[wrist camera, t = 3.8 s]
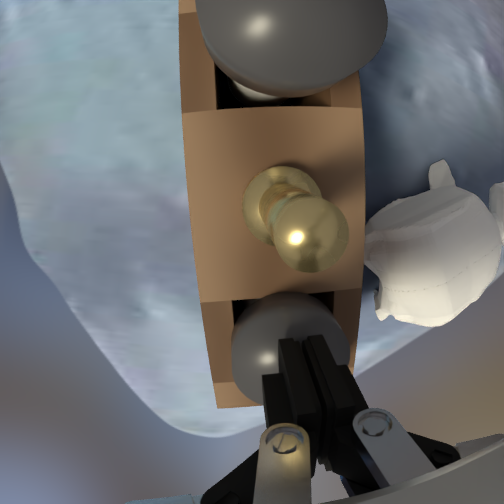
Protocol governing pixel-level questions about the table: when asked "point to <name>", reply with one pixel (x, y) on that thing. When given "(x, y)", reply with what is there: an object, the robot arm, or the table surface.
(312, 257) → the brass door knob
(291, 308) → the dark grey rounded lump
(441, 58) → the table surface
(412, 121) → the table surface
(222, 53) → the knob
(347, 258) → the walnut mount
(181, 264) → the table surface
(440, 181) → the white piece
